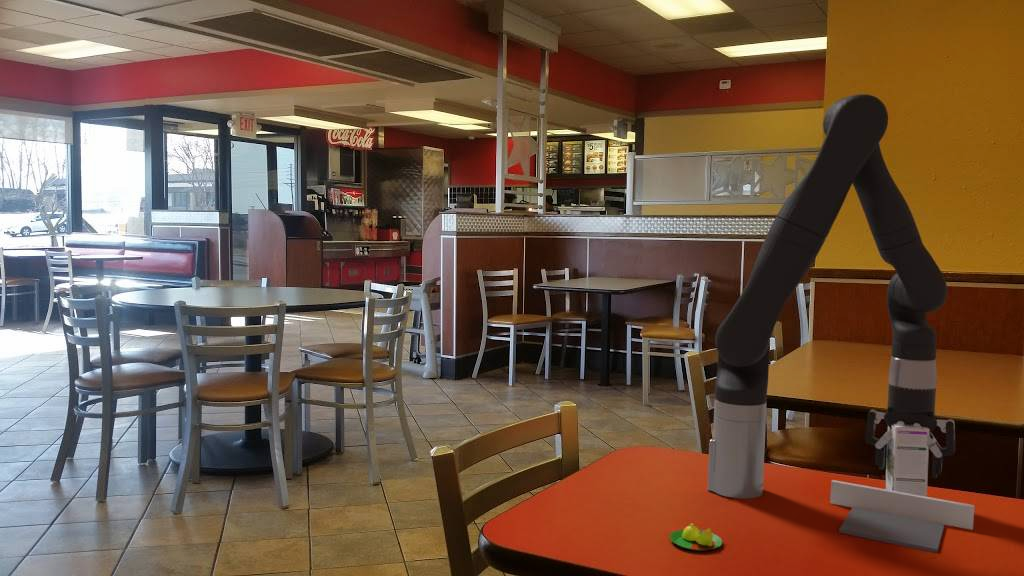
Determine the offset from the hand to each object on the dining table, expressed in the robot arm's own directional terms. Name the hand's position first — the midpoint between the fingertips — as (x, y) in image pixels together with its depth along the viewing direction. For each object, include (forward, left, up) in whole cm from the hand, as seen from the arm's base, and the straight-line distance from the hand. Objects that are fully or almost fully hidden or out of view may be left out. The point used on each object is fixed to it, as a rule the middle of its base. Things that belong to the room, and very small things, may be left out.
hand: (907, 472), depth 142 cm
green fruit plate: (-25, -38, -6) cm, 46 cm away
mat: (0, -16, -6) cm, 17 cm away
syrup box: (0, 0, -6) cm, 6 cm away
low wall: (0, -8, -6) cm, 10 cm away
